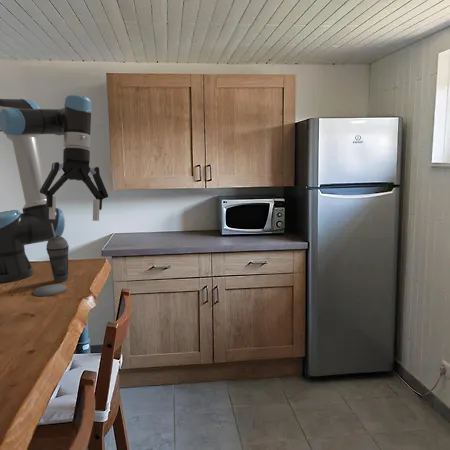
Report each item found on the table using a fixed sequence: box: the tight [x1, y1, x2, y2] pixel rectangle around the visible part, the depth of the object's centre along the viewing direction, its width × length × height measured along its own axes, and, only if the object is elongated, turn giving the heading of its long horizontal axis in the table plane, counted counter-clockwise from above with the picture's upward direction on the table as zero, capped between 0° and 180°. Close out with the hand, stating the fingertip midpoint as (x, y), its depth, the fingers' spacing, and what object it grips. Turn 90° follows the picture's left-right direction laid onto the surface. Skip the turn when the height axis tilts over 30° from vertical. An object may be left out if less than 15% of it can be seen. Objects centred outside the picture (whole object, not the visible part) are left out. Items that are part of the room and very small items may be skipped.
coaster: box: [32, 283, 68, 297], centre depth 145 cm, size 10×10×1 cm
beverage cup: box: [45, 223, 70, 283], centre depth 155 cm, size 7×7×20 cm
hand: (74, 220), depth 135 cm, fingers open, 13 cm apart
